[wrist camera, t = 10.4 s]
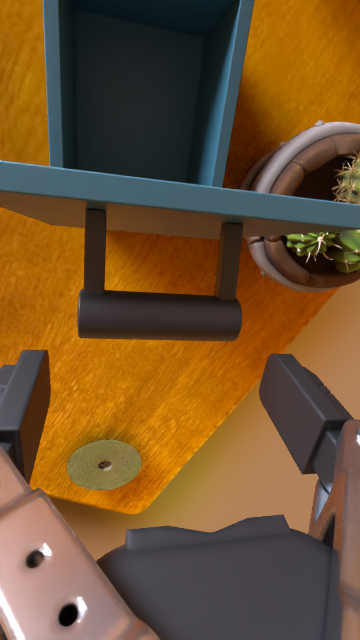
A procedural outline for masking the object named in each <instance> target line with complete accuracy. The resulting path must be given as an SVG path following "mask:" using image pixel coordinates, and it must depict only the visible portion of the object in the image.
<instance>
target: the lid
mask: <svg viewBox="0 0 360 640" xmlns="http://www.w3.org/2000/svg"><path fill="white" fill-rule="evenodd" d="M0 207H3V208H6V209H8V210H11V211H14V212H17V213H20V214H23V215H25V216H28V217H31V218H34V219H37V220H39V221H42V222H45V223H48V224H51V225H58V226H69V227H81V228H85V255H84V289H82V290H81V291H80V293H79V300H78V319H77V324H78V335H79V337H80V338H96V339H141V340H187V341H235V340H236V339H237V338H238V336H239V333H240V330H241V325H242V310H241V305H240V302H239V300H238V299H237V298H236V289H237V280H238V271H239V262H240V253H241V244H242V238H244V237H260V236H275V235H290V234H305V233H320V232H336V231H351V230H360V205H358V204H350V203H342V202H334V201H325V200H317V199H309V198H301V197H293V196H285V195H277V194H269V193H260V192H252V191H244V190H236V189H228V188H220V187H212V186H204V185H196V184H187V183H179V182H171V181H163V180H155V179H147V178H139V177H131V176H123V175H114V174H106V173H98V172H90V171H82V170H74V169H66V168H58V167H50V166H41V165H33V164H25V163H17V162H9V161H1V160H0ZM106 230H114V231H126V232H137V233H148V234H159V235H171V236H182V237H193V238H204V239H220V242H219V252H218V262H217V272H216V282H215V292H214V296H207V295H188V294H169V293H150V292H130V291H111V290H104V286H105V254H106Z"/></svg>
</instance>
